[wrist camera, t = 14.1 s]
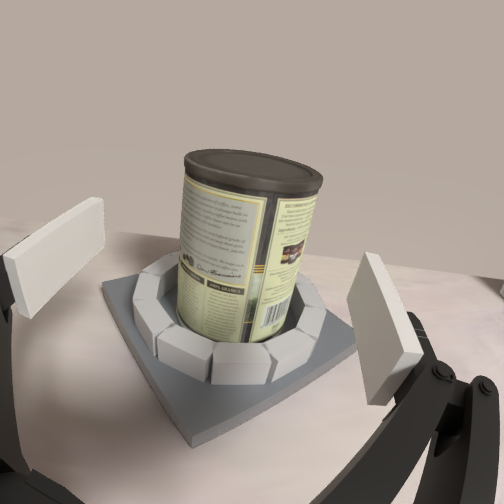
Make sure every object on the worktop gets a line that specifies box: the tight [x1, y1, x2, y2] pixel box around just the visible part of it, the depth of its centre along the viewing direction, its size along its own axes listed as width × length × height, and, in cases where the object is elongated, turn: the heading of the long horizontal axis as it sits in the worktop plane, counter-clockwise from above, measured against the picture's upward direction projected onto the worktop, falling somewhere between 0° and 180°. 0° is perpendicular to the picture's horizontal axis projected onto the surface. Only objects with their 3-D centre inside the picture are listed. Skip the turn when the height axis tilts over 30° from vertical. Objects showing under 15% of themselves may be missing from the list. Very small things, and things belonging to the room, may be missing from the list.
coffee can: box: [176, 149, 323, 343], centre depth 25 cm, size 10×10×14 cm
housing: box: [102, 251, 357, 448], centre depth 28 cm, size 19×19×4 cm
